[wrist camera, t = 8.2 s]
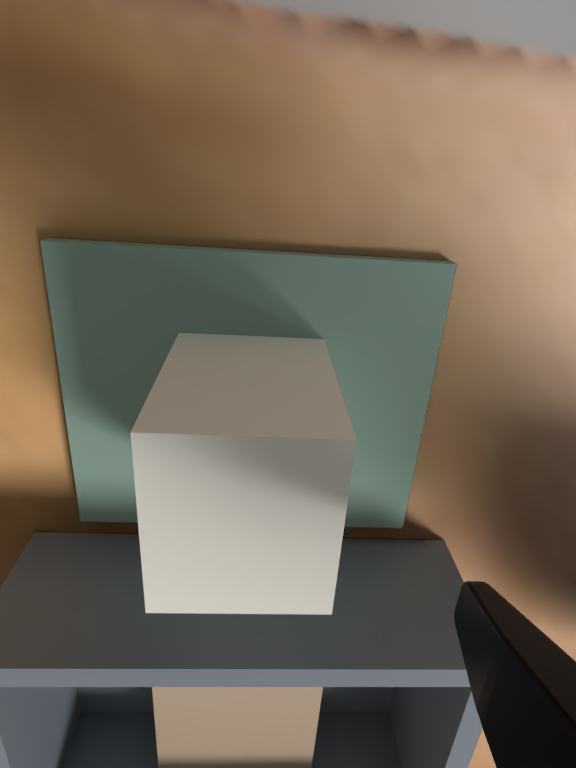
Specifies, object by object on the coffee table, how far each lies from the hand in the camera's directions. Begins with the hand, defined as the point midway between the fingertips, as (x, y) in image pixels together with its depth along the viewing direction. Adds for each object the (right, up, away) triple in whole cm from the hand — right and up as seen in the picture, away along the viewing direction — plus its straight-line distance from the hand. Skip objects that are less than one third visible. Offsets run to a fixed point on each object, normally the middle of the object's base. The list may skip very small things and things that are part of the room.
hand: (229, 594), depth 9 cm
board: (0, +3, +7) cm, 8 cm away
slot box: (-1, -7, +12) cm, 14 cm away
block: (0, +3, +7) cm, 8 cm away
